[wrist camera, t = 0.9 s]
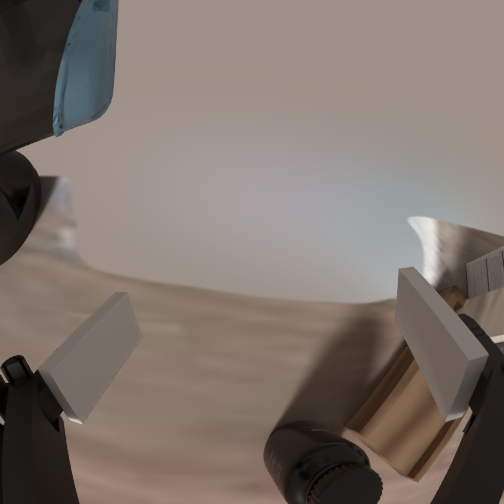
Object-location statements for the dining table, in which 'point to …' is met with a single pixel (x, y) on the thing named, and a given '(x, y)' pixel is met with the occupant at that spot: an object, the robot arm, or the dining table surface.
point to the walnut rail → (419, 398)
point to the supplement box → (486, 273)
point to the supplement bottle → (320, 467)
